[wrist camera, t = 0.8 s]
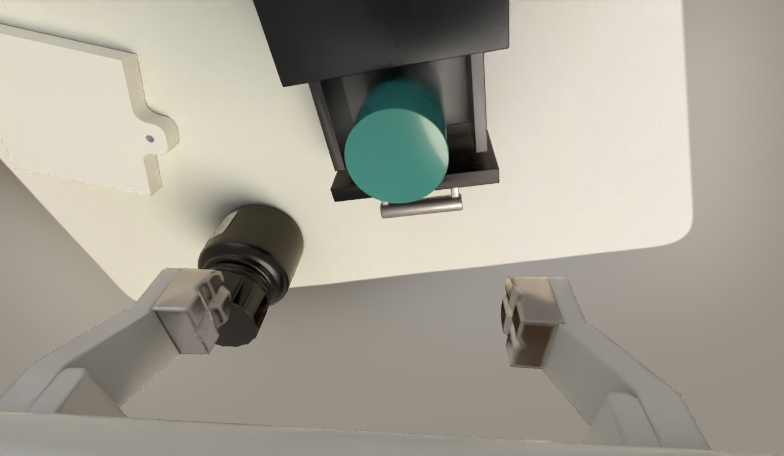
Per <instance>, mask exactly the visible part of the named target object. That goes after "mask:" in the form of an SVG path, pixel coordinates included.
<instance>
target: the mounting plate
mask: <svg viewBox="0 0 784 456" xmlns="http://www.w3.org/2000/svg"><path fill="white" fill-rule="evenodd" d="M0 136H1V138H2V140H3V143H4V145H5V147H6V149H7V152H8V154H9V156H10V158H11V160H12V163H13V165H14V167H15V169H20V170H25V171H29V172H34V173H39V174H44V175H49V176H54V177H59V178H64V179H69V180H73V181H78V182H83V183H88V184H93V185H98V186H103V187H108V188H113V189H117V190H122V191H127V192H132V193H137V194H142V195H147V196H152V195H153V194H154V193H155V192H157V191H158V190H159V189H160V188H161V187H162V184H161V179H160V174H159V168H158V163H157V158H156V155H164V154H166V153H167V152H169V151H170V150H171V149H172V148H173V147H175V146H176V145H177V144H178V142H179V136H178V129H177V126H176V124H175V122H174V121H173V120H172V119H170V118H169V117H166V116H163V115H158V114H156V113H154V112H152V111H151V110H150V109H149V108H148V106H147V105H146V102H145V96H144V91H143V86H142V81H141V76H140V71H139V66H138V60H137V55H136V54H132V53H127V52H123V51H118V50H114V49H109V48H105V47H101V46H96V45H92V44H87V43H83V42H78V41H74V40H70V39H65V38H61V37H56V36H52V35H47V34H43V33H39V32H34V31H30V30H25V29H21V28H16V27H12V26H7V25H3V24H0Z"/></svg>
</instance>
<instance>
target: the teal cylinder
mask: <svg viewBox="0 0 784 456" xmlns="http://www.w3.org/2000/svg"><path fill="white" fill-rule="evenodd" d="M344 155H345V163H346V167H347V170H348V173H349V175H350V176H351V178H352V180H353V181H354V183H355V184H356V185H357V186H358V187H359V188H360V189H361V190H362V191H363V192H365V193H366V194H368V195H369V196H371V197H373V198H375V199H378V200H381V201H384V202H389V203H408V202H412V201H416V200H419V199H421V198H423V197H425V196H427V195H428V194H430V193H431V192H432V191H433V190H434V189H436V188H437V187H438V185H439V184H440V183H441V181H442V180H443V178H444V176H445V174H446V172H447V168H448V163H449V149H448V138H447V127H446V116H445V105H444V94H443V86H442V82H441V79H440V77H439V74H438V73H437V71H436V70H435V69H434V68H433V66H432V65H430V64H429V63H428V62H426V63H420V64H415V65H409V66H403V67H397V68H391V69H386V70H380V71H375V72H374V74H373V76H372V78H371V81H370V83H369V86H368V88H367V91H366V93H365V96H364V98H363V101H362V103H361V106H360V108H359V111H358V113H357V116H356V118H355V121H354V123H353V126H352V128H351V131H350V133H349V136H348V138H347V141H346V145H345V153H344Z"/></svg>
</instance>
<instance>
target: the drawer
mask: <svg viewBox="0 0 784 456" xmlns="http://www.w3.org/2000/svg"><path fill="white" fill-rule="evenodd" d="M428 63H429V64H430V65H432V66H433V68H434V69H435V70H436V71H437V73H438V74H439V77H440V79H441V82H442V86H443V94H444V105H445V116H446V125H452V124H459V123H466V122H469V123H470V127H471V132H468V133H461V134H454V135H447V138H448V149H449V163H448V168H447V172H446V174H445V176H444V178H443V180H442V181H441V183H440V184H439V185H438V187H437V188H436V189H434V190H441V189H450V188H451V194H452V195H445V196H436V197H427V198H421V199H419V200H416V201H412V202H408V203H389V202H384V201H381V202H382V203H381V205H380V211H381V216H382V218H392V217H401V216H411V215H420V214H429V213H439V212H448V211H458V210H462V209H463V207H462V197H461V194H459V191H458V187H467V186H475V185H484V184H493V183H499V167H498V164H497V161H496V157H495V154H494V151H493V147H492V144H491V140H490V137H489V134H488V130H487V122H486V98H485V74H484V53H478V54H472V55H467V56H461V57H455V58H449V59H443V60H438V61H432V62H428ZM374 72H375V71H374ZM374 72H368V73H363V74H357V75H351V76H345V77H339V78H334V79H328V80H322V81H316V82H310V83H308V84H309V87H310V90H311V93H312V97H313V100H314V103H315V107H316V110H317V113H318V116H319V120H320V123H321V126H322V130H323V133H324V136H325V140H326V143H327V146H328V149H329V153H330V156H331V159H332V163H333V166H334V169H335V171H337V174H336V176H335V179H334V182H333V184H332V187H331V192H332V195H333V198H334V201H335V202H338V201H346V200H355V199H364V198H372V197H371V196H369V195H368V194H366V193H365V192H363V191H362V190H361V189H360V188H359V187H358V186H357V185H356V184H355V183H354V181H353V180H352V178H351V176H350V175H349V173H348V170H347V167H346V163H345V155H344V153H345V145H346V141H347V138H348V136H349V133H350V131H351V128H352V126H353V123H354V121H355V118H356V116H357V113H358V111H359V108H360V106H361V103H362V101H363V98H364V96H365V93H366V91H367V88H368V86H369V83H370V81H371V78H372V76H373V74H374Z"/></svg>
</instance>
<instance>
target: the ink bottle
mask: <svg viewBox="0 0 784 456" xmlns="http://www.w3.org/2000/svg"><path fill="white" fill-rule="evenodd" d="M302 252H303V238H302V235H301V232H300V230H299V229H298V227H297V225H296V224H295V223H294V222H293V221H292V220H291V219H290V218H289V217H288V216H286V215H285V214H283V213H281V212H280V211H277V210H275V209H272V208H269V207H265V206H258V205H249V206H243V207H239V208H237V209H235V210H233V211H231V212H230V213H229V214H228V215H227V216H226V218H225V219H224V220H223V221H222V222H221V224H220V226H219V227H218V228H217V230H216V231H215V232H214V234H213V235H212V237H211V238H210V239H209V241H208V242H207V243H206V245H205V247H204V248H203V250H202V252H201V253H200V256H199V259H198V269H209V270H218V271H221V273H222V275H223V278H224V281H223V283H222V286H224V287H225V288H226V289H227V290H229V292H230V295H231V299H232V307H231V313H230V316H229V318H228V320H227V322H226V323H224V324H223V325H222V326H220V327H219V328H218V331H219V334H220V335H219V337H218V339H217V341H216V343H215V344H217V345H221V346H234V347H238V346H241V345H245V344H249V343H250V342H251V341H252V340H253V339H254V338H256V336H257V333H258V331H259V329H260V326H261V324H262V322H263V320H264V317H265V315H266V313H267V309H268V307H269V306H271V305H273V304H275V303H277V302H279V301H280V300H281V299H282V298H283V297H284V295H285V294H286V292H287V290H288V288H289V286H290V283H291V281H292V278H293V276H294V273H295V271H296V268H297V266H298V263H299V261H300V258H301V255H302Z"/></svg>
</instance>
